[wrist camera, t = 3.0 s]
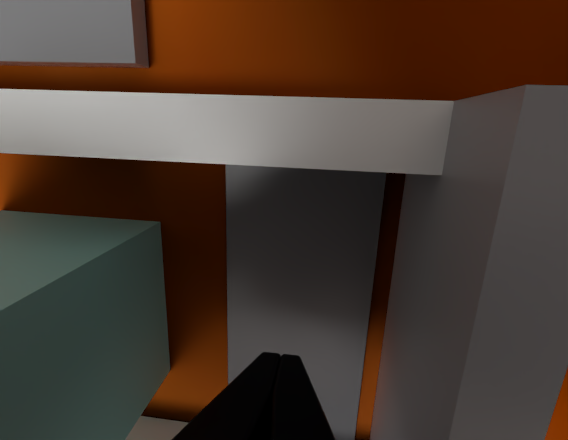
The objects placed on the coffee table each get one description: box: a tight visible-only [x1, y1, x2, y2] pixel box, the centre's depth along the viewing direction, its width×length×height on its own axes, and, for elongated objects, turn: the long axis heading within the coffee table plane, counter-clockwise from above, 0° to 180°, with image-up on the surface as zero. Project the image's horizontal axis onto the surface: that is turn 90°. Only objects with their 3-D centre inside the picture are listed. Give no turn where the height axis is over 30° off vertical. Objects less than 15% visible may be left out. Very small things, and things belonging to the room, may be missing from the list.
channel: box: [0, 85, 568, 440], centre depth 8 cm, size 15×11×4 cm
